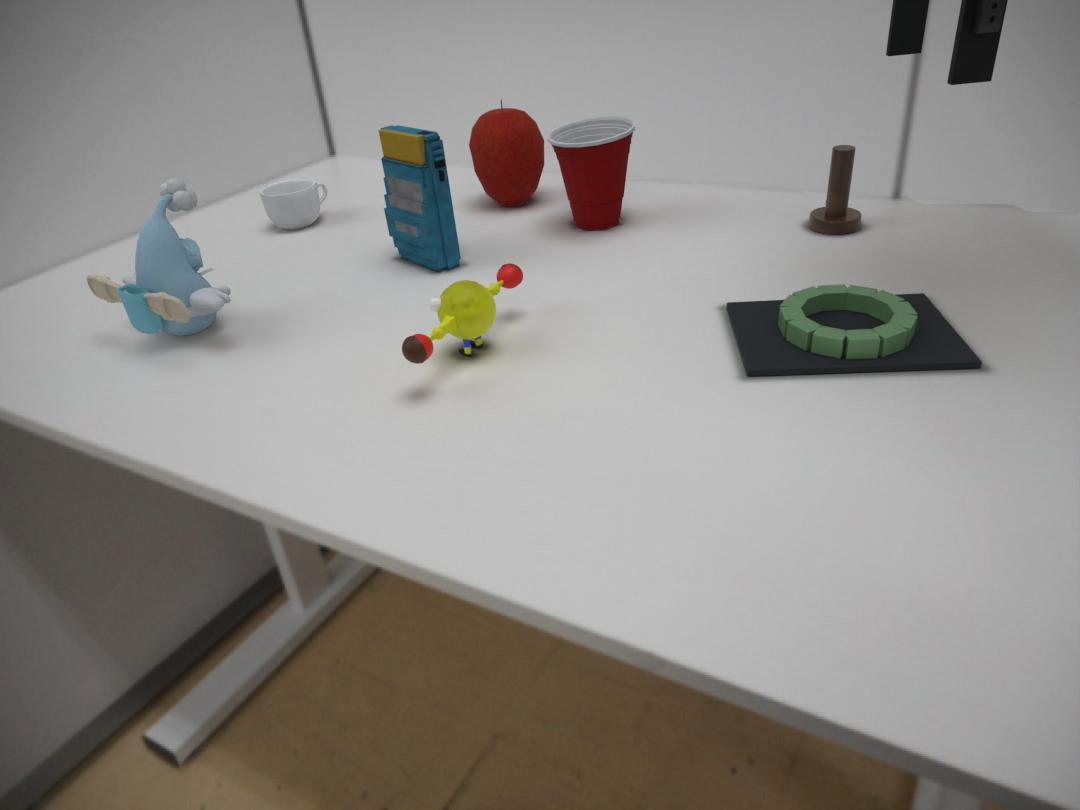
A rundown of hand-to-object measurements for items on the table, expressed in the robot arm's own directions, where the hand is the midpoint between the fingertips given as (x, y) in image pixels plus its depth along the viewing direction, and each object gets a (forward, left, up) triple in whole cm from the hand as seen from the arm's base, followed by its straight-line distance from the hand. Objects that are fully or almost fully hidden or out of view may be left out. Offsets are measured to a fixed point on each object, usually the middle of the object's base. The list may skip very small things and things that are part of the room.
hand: (932, 67), depth 59 cm
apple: (+40, -37, -20) cm, 59 cm away
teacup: (+70, -34, -20) cm, 81 cm away
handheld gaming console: (+48, -16, -20) cm, 55 cm away
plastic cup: (+28, -26, -20) cm, 44 cm away
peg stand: (0, -20, -20) cm, 29 cm away
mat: (+6, +7, -20) cm, 22 cm away
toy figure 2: (+39, +7, -20) cm, 45 cm away
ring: (+6, +7, -20) cm, 21 cm away
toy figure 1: (+70, 0, -20) cm, 73 cm away
